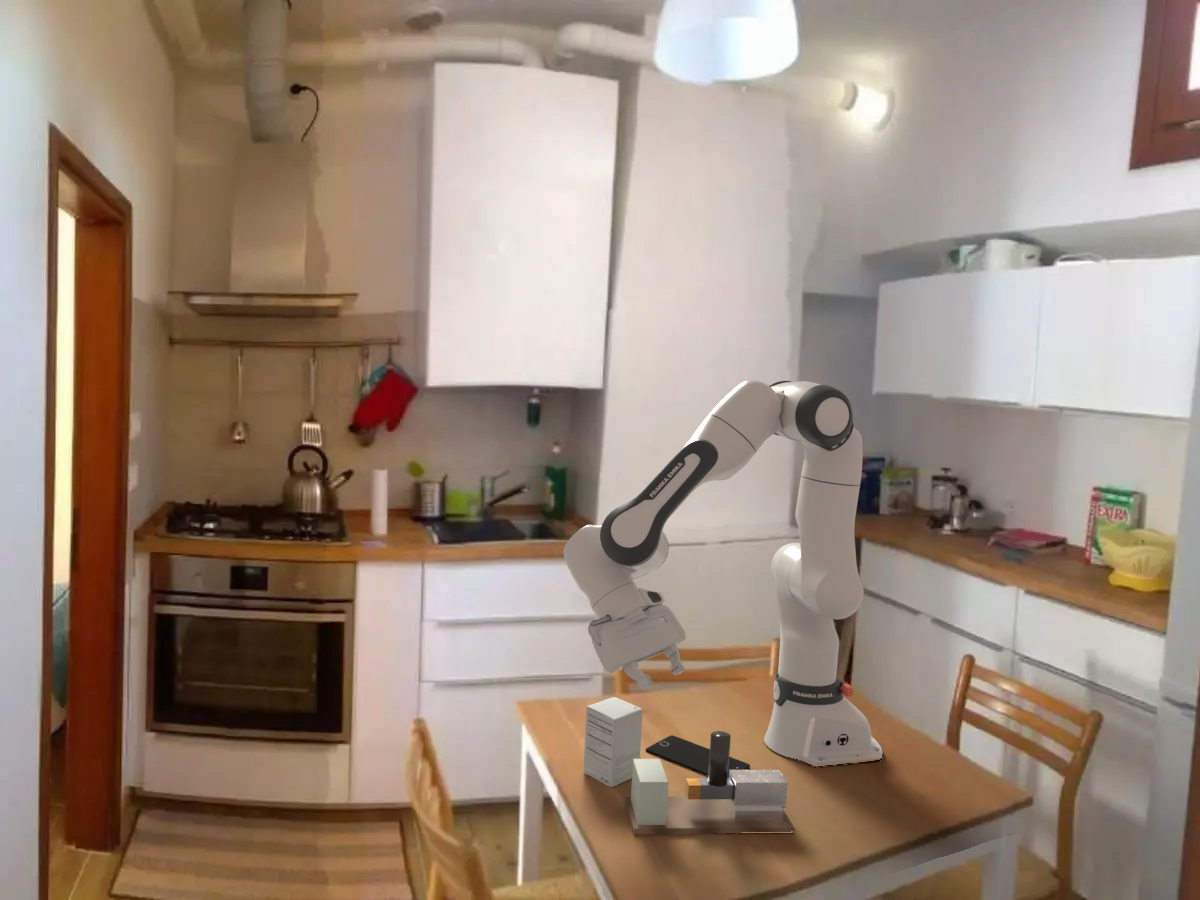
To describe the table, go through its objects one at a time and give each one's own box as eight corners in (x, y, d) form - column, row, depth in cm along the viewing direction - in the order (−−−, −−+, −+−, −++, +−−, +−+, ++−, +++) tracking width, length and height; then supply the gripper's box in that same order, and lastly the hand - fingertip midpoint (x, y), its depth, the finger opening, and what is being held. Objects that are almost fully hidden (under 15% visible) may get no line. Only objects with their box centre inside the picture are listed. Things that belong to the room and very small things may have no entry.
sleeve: (775, 802, 156) (778, 767, 155) (786, 821, 150) (789, 784, 149) (725, 802, 155) (728, 767, 154) (734, 821, 149) (737, 784, 148)
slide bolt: (772, 790, 154) (777, 731, 152) (778, 800, 150) (783, 739, 149) (684, 790, 152) (688, 730, 151) (688, 800, 149) (692, 739, 148)
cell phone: (671, 739, 181) (671, 734, 181) (751, 769, 170) (751, 764, 170) (644, 753, 175) (644, 748, 174) (726, 785, 163) (726, 780, 163)
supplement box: (610, 761, 170) (614, 695, 168) (640, 776, 165) (644, 708, 163) (581, 772, 165) (585, 705, 163) (610, 788, 159) (615, 718, 158)
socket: (657, 799, 154) (659, 758, 153) (665, 824, 146) (668, 782, 146) (630, 799, 154) (633, 758, 153) (637, 825, 146) (640, 782, 145)
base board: (775, 802, 158) (776, 796, 158) (793, 833, 148) (794, 827, 148) (625, 802, 155) (625, 796, 155) (633, 834, 145) (634, 828, 145)
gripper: (595, 613, 151) (639, 686, 147) (666, 590, 167) (708, 656, 162) (573, 632, 155) (615, 705, 150) (645, 609, 171) (685, 673, 166)
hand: (664, 679), depth 156 cm, fingers open, 8 cm apart
